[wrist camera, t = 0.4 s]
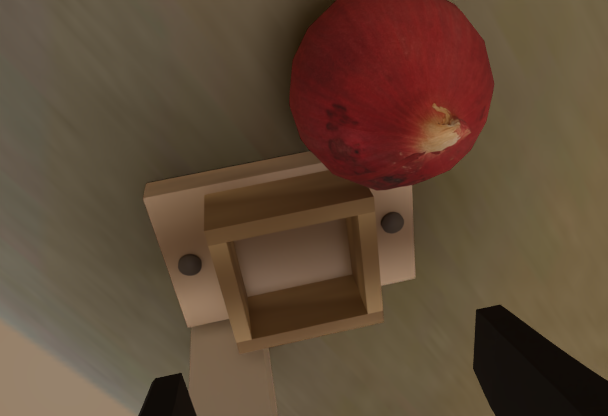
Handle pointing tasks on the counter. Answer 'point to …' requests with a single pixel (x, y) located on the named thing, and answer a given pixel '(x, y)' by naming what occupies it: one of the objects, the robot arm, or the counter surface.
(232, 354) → the post
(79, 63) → the counter surface
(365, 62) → the onion
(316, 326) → the bracket
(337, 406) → the counter surface
